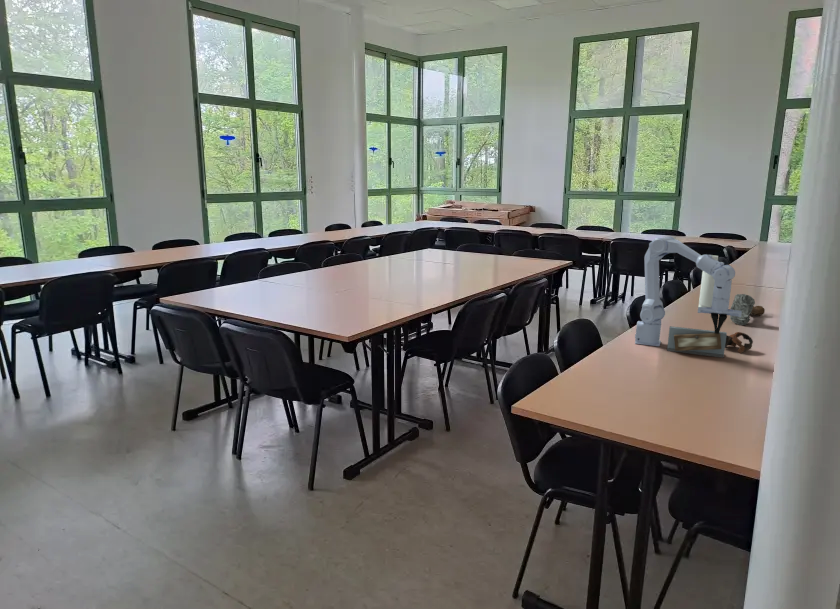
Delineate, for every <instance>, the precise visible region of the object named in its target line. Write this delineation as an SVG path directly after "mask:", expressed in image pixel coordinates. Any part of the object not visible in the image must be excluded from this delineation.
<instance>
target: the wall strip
mask: <svg viewBox="0 0 840 609" xmlns="http://www.w3.org/2000/svg"><path fill="white" fill-rule="evenodd" d="M704 333H715V330H708V329H699V328H690V327H682V326H680V327H679V326H669V330H668V338H667V347H666V351H667V352H673V353H683V354H689V355H690V354H692V355H699V356H706V357H707V356H708V357H715V358H725V351H726V350H725V349H726V348H725V343H726V335H727V334H728V333H727V331H719V333H720V336H721V349H713V350H680V351H675V342H674V335H680V334H704ZM727 336H728V335H727Z"/></svg>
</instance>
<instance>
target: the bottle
mask: <svg viewBox="0 0 840 609" xmlns="http://www.w3.org/2000/svg"><path fill="white" fill-rule="evenodd" d="M711 255H712V256H713V257H712V258H714V259H715V260H717V261H719V255H713V254H711ZM714 282H715V280H714V279H713V276H711V275H709V274H708V273H706V272H704V271H703V270H702V272H701V281H700V291H699V300H698V306H697V308H698V307H711V305H712V297H713V289H714Z"/></svg>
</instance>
